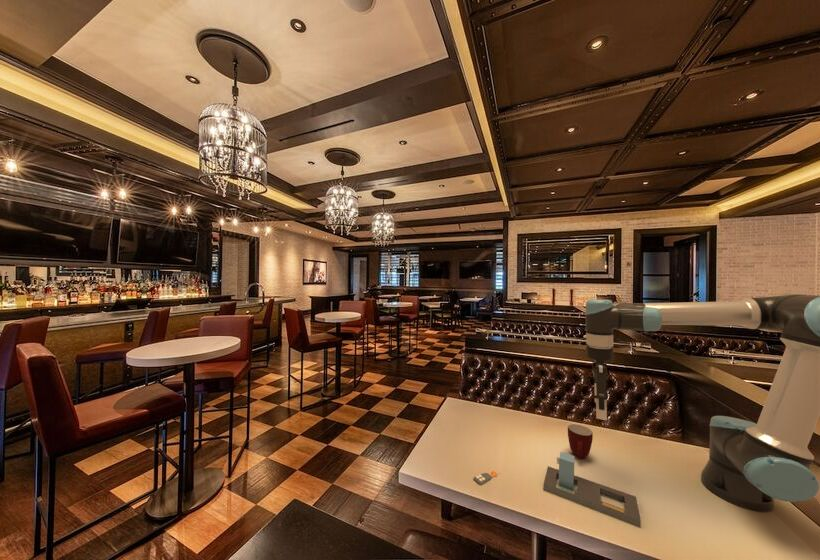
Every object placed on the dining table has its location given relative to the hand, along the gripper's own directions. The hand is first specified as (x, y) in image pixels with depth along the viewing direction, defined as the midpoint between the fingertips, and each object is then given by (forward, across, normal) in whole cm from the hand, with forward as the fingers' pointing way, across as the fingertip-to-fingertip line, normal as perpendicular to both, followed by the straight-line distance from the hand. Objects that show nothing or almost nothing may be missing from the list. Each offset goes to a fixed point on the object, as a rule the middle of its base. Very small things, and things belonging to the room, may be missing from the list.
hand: (600, 410), depth 94 cm
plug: (+23, +10, -10) cm, 27 cm away
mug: (+24, -11, -6) cm, 27 cm away
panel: (+23, +10, -4) cm, 26 cm away
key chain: (+23, +17, -32) cm, 43 cm away
